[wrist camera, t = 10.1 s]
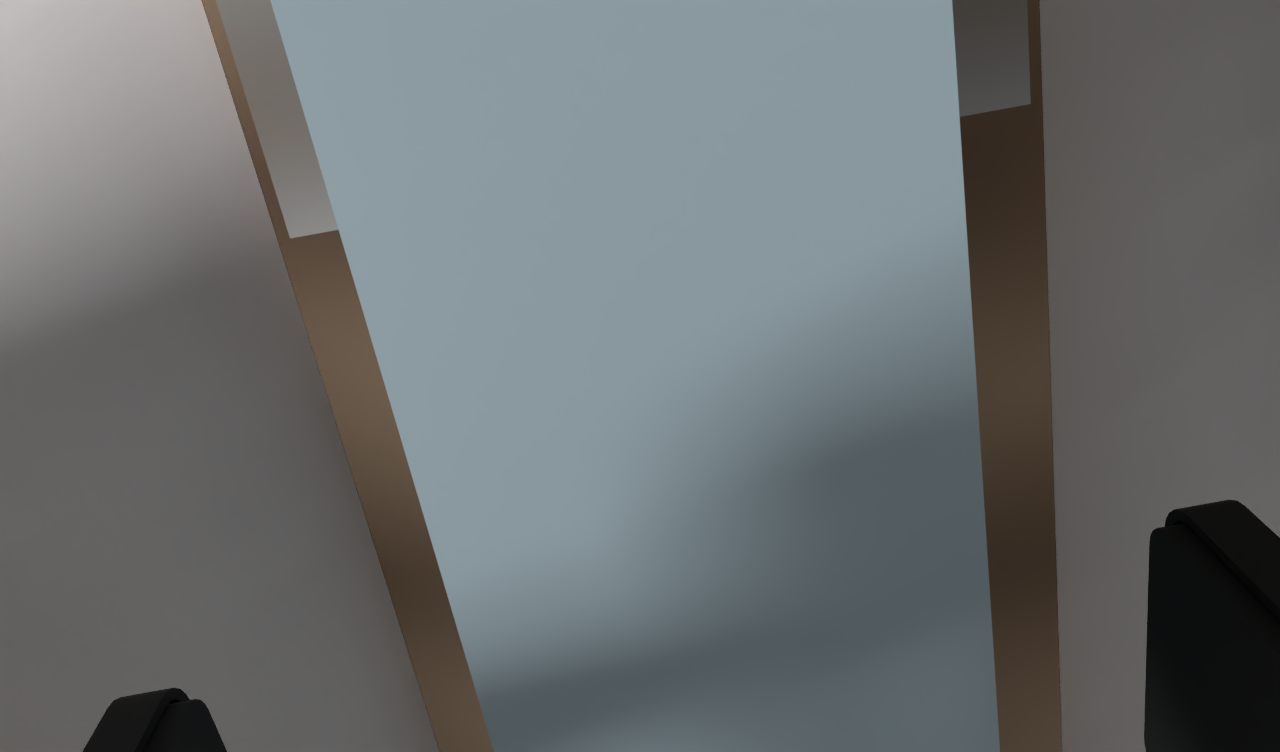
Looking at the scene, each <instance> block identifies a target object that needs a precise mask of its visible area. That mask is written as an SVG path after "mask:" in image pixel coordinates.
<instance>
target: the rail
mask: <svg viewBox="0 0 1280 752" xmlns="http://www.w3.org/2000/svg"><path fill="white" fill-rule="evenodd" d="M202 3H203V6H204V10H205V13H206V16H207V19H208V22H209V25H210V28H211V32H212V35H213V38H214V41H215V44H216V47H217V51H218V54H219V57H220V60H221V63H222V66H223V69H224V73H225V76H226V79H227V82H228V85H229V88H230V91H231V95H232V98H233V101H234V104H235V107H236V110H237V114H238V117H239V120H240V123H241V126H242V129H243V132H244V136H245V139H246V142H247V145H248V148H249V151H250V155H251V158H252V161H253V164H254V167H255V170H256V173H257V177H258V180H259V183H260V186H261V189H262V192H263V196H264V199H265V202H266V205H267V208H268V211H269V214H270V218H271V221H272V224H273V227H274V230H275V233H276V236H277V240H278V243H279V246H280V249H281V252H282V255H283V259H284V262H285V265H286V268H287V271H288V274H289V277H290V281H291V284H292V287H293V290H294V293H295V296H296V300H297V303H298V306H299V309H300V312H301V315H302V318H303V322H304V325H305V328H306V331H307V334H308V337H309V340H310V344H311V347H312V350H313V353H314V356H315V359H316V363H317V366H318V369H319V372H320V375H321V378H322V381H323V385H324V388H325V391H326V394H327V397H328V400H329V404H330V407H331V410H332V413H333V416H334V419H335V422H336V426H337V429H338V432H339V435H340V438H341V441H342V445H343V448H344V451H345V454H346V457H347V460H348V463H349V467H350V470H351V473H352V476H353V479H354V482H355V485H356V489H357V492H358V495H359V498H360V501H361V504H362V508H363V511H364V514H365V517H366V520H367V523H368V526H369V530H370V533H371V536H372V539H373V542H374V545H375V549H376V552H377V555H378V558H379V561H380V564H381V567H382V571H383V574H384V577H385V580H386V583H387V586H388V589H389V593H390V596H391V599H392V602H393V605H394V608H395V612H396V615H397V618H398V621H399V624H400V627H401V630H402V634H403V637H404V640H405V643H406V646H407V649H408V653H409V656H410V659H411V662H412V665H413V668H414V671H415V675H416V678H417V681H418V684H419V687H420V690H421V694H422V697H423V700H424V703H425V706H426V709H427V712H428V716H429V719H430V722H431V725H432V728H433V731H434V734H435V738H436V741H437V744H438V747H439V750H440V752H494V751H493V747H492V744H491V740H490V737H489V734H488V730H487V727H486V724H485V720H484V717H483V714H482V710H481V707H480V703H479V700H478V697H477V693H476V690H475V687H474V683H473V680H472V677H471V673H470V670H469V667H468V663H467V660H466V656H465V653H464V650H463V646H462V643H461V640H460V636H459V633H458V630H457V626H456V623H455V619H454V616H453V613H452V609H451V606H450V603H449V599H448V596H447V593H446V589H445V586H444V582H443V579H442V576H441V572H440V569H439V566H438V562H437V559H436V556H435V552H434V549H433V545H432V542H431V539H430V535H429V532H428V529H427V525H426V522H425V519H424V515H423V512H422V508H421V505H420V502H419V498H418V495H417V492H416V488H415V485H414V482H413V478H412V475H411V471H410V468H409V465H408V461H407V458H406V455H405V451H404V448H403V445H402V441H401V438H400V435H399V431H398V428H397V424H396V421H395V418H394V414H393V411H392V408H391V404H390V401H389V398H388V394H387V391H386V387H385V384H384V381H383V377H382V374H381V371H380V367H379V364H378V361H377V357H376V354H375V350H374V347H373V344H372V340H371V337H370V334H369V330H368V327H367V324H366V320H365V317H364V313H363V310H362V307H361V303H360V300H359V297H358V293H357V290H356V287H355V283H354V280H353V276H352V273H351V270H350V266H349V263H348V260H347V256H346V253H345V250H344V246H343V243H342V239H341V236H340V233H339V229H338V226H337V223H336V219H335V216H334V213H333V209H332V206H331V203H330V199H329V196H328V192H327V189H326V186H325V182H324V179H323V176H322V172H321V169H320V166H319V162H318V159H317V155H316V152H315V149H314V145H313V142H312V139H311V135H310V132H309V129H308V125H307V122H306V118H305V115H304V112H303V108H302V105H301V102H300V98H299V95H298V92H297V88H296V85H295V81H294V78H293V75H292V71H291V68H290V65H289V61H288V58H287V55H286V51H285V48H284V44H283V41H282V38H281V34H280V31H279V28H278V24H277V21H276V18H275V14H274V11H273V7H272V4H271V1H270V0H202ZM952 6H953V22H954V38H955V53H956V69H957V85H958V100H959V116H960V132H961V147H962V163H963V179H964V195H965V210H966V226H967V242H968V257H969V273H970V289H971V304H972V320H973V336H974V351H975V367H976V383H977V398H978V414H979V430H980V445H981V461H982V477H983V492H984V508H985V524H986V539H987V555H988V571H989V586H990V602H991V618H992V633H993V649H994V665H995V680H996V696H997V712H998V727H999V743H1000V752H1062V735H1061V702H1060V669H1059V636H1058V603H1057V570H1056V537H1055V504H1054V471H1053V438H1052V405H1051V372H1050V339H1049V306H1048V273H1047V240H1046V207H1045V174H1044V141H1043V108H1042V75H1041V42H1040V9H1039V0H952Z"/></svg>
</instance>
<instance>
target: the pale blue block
mask: <svg viewBox="0 0 1280 752" xmlns="http://www.w3.org/2000/svg"><path fill="white" fill-rule="evenodd" d="M270 1H271V4H272V7H273V11H274V14H275V18H276V21H277V24H278V28H279V31H280V34H281V38H282V41H283V44H284V48H285V51H286V55H287V58H288V61H289V65H290V68H291V71H292V75H293V78H294V81H295V85H296V88H297V92H298V95H299V98H300V102H301V105H302V108H303V112H304V115H305V118H306V122H307V125H308V129H309V132H310V135H311V139H312V142H313V145H314V149H315V152H316V155H317V159H318V162H319V166H320V169H321V172H322V176H323V179H324V182H325V186H326V189H327V192H328V196H329V199H330V203H331V206H332V209H333V213H334V216H335V219H336V223H337V226H338V229H339V233H340V236H341V239H342V243H343V246H344V250H345V253H346V256H347V260H348V263H349V266H350V270H351V273H352V276H353V280H354V283H355V287H356V290H357V293H358V297H359V300H360V303H361V307H362V310H363V313H364V317H365V320H366V324H367V327H368V330H369V334H370V337H371V340H372V344H373V347H374V350H375V354H376V357H377V361H378V364H379V367H380V371H381V374H382V377H383V381H384V384H385V387H386V391H387V394H388V398H389V401H390V404H391V408H392V411H393V414H394V418H395V421H396V424H397V428H398V431H399V435H400V438H401V441H402V445H403V448H404V451H405V455H406V458H407V461H408V465H409V468H410V471H411V475H412V478H413V482H414V485H415V488H416V492H417V495H418V498H419V502H420V505H421V508H422V512H423V515H424V519H425V522H426V525H427V529H428V532H429V535H430V539H431V542H432V545H433V549H434V552H435V556H436V559H437V562H438V566H439V569H440V572H441V576H442V579H443V582H444V586H445V589H446V593H447V596H448V599H449V603H450V606H451V609H452V613H453V616H454V619H455V623H456V626H457V630H458V633H459V636H460V640H461V643H462V646H463V650H464V653H465V656H466V660H467V663H468V667H469V670H470V673H471V677H472V680H473V683H474V687H475V690H476V693H477V697H478V700H479V703H480V707H481V710H482V714H483V717H484V720H485V724H486V727H487V730H488V734H489V737H490V740H491V744H492V747H493V751H494V752H1000V743H999V727H998V712H997V696H996V680H995V665H994V649H993V633H992V618H991V602H990V586H989V571H988V555H987V539H986V524H985V508H984V492H983V477H982V461H981V445H980V430H979V414H978V398H977V383H976V367H975V351H974V336H973V320H972V304H971V289H970V273H969V257H968V242H967V226H966V210H965V195H964V179H963V163H962V147H961V132H960V116H959V100H958V85H957V69H956V53H955V38H954V22H953V6H952V0H270Z"/></svg>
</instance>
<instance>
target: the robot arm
mask: <svg viewBox="0 0 1280 752" xmlns="http://www.w3.org/2000/svg"><path fill="white" fill-rule="evenodd" d="M1144 740H1145V748H1146V752H1280V538H1279V537H1278V536H1277V535H1276V534H1275V533H1274V532H1273V531H1272V530H1270V529H1269V528H1268V527H1267V526H1266V525H1265V524H1264V523H1263V522H1262V521H1261V520H1259V519H1258V518H1257V517H1256V516H1255V515H1254V514H1253V513H1252V512H1251V511H1250V510H1249V509H1247V508H1246V507H1245V506H1244V505H1242V504H1241V503H1239V502H1238V501H1235V500H1226V501H1220V502H1214V503H1209V504H1203V505H1198V506H1192V507H1186V508H1181V509H1175V510H1173V511H1171V512H1170V513H1169V514H1168V516H1167V518H1166V522H1165V527H1161V528H1156V529H1155V530H1153V532H1152V534H1151V536H1150V546H1149V582H1148V619H1147V655H1146V692H1145V728H1144ZM83 752H227V751H226V748H225V746H224V744H223V742H222V739H221V737H220V735H219V733H218V730H217V728H216V726H215V723H214V721H213V719H212V717H211V714H210V712H209V710H208V708H207V707H206V705H205V703H203V702H202V701H201V700H197V699H194V700H189V698H188V696H187V695H186V694H185V693H184V692H183V691H182V690H181V689H177V688H170V689H165V690H159V691H153V692H148V693H142V694H137V695H131V696H125V697H120V698H118V699H116V700H114V701H113V702H112V704H111V705H110V706H109V707H108V709H107V710H106V712H105V714H104V715H103V717H102V719H101V721H100V722H99V724H98V726H97V728H96V729H95V731H94V733H93V735H92V736H91V738H90V740H89V742H88V743H87V745H86V747H85V749H84V750H83Z"/></svg>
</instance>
